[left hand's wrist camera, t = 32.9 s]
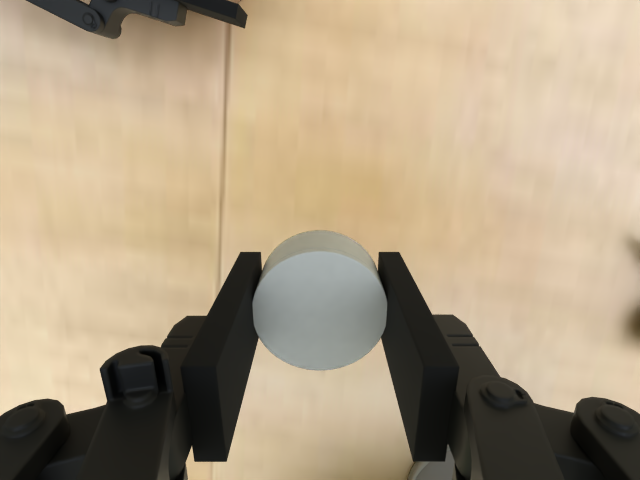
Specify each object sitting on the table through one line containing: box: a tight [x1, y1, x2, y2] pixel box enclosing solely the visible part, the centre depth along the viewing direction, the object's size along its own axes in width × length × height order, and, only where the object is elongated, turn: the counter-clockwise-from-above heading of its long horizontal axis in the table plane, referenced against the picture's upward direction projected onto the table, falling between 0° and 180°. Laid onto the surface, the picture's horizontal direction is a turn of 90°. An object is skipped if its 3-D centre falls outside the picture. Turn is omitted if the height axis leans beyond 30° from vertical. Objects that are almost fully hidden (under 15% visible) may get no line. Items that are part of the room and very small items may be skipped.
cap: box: [252, 230, 387, 370], centre depth 13 cm, size 4×4×2 cm
